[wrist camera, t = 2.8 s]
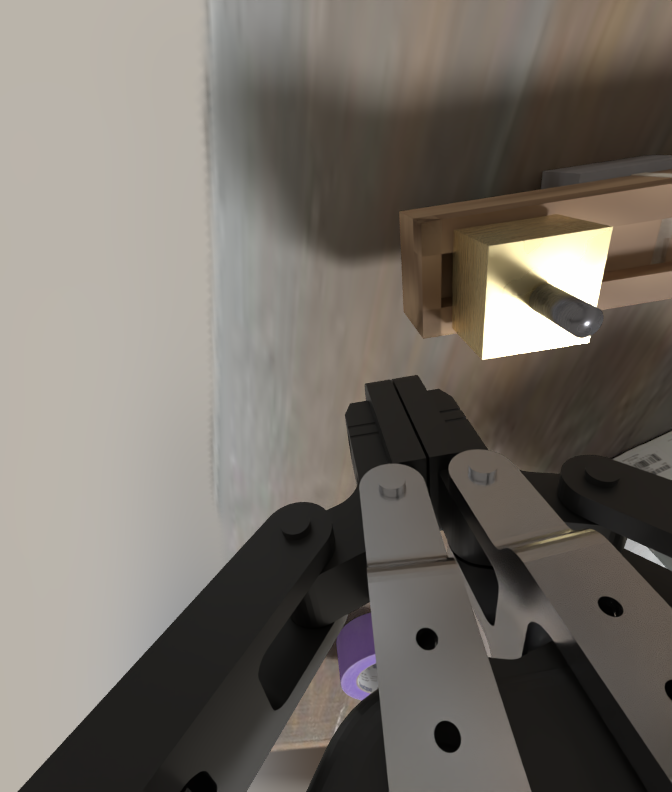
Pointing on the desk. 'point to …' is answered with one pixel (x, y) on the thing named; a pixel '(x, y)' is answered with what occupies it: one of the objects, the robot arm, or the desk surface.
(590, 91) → the desk surface
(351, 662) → the tape roll
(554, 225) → the rider
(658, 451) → the hard drive box
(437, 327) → the beam
